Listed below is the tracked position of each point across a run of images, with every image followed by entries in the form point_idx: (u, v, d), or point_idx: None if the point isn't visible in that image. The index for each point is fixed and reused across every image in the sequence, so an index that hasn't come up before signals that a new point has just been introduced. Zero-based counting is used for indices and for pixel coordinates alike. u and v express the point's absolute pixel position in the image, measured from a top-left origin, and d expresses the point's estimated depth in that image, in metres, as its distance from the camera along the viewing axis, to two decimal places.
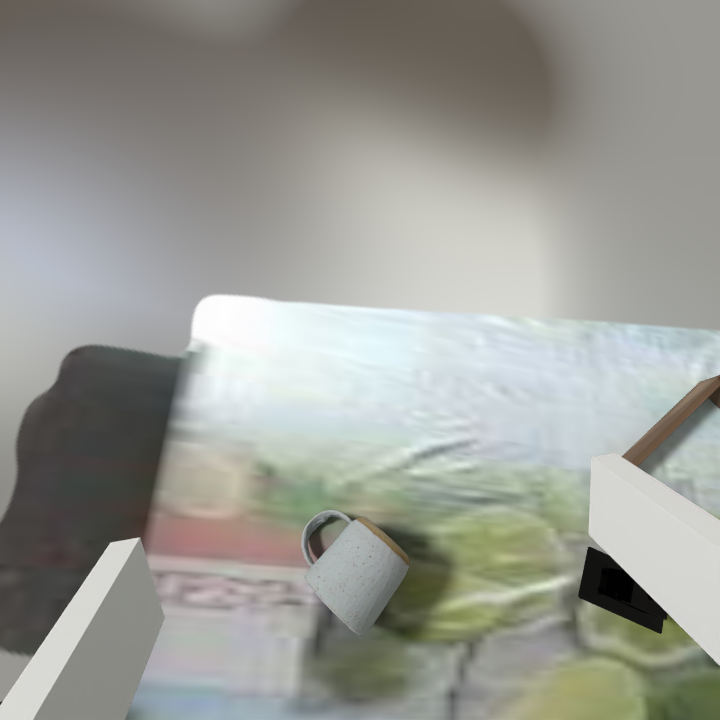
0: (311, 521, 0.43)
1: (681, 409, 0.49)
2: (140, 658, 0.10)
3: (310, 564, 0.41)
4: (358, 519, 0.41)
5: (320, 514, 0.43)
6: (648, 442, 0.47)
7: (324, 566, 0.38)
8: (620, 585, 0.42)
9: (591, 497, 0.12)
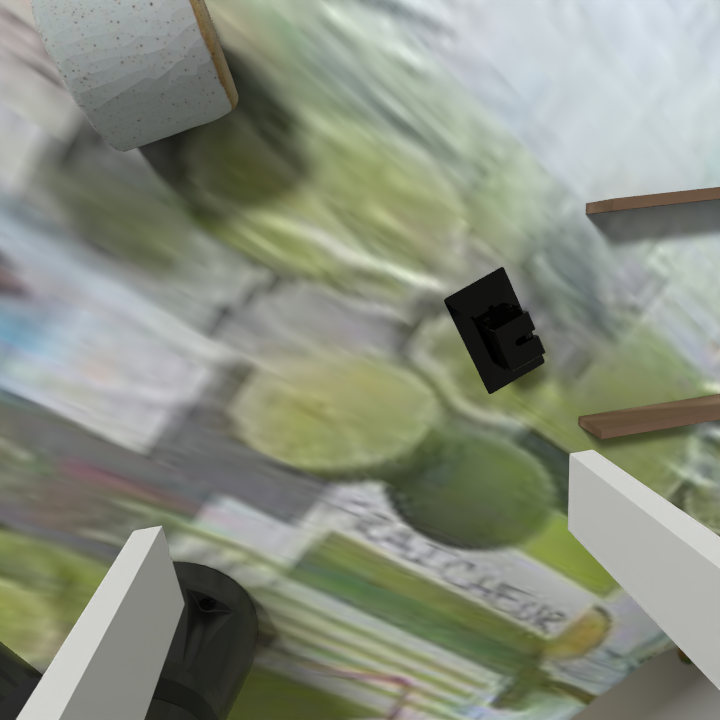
0: None
1: None
2: (164, 640, 0.10)
3: None
4: None
5: None
6: None
7: None
8: (499, 315, 0.31)
9: (570, 493, 0.13)
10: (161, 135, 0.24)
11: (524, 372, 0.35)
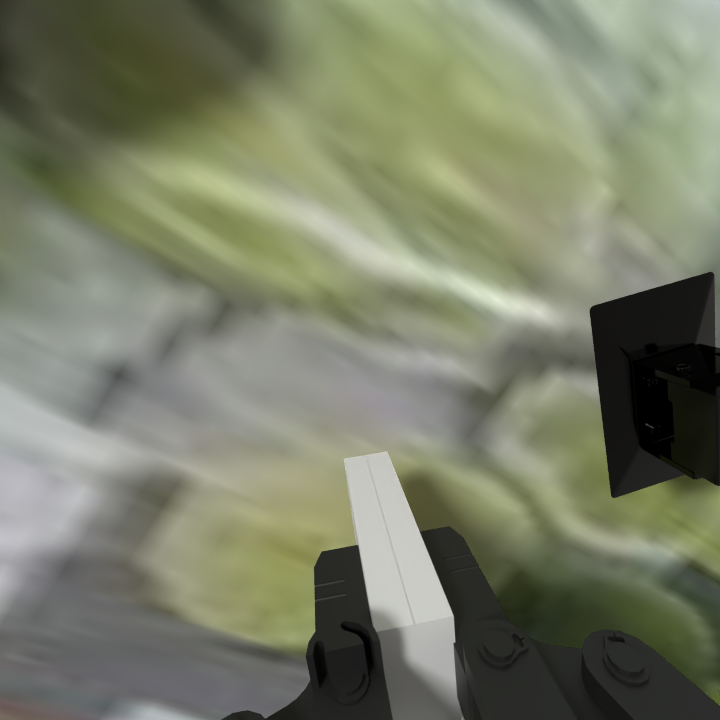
0: None
1: None
2: None
3: None
4: None
5: None
6: None
7: None
8: (710, 365, 0.15)
9: None
10: None
11: (679, 475, 0.19)
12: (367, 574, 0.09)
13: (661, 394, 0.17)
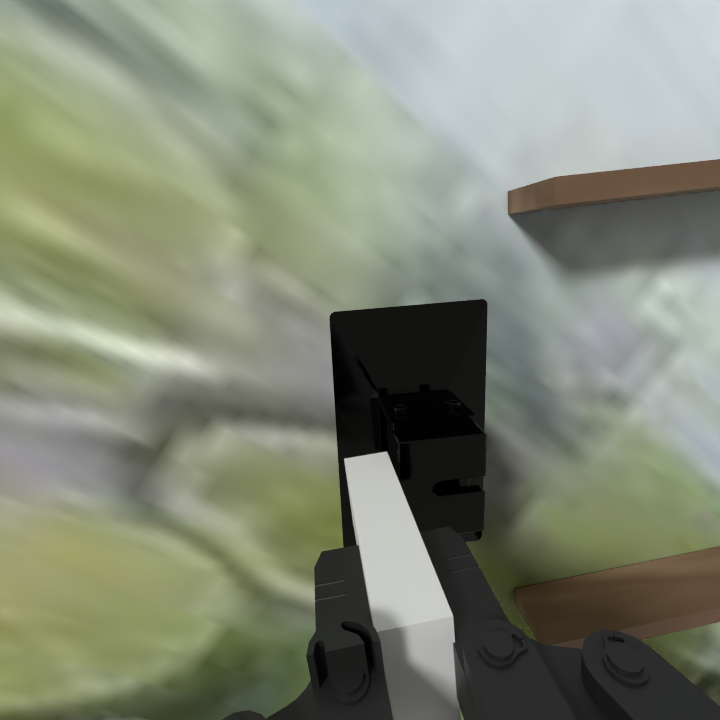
0: None
1: None
2: None
3: None
4: None
5: None
6: None
7: None
8: (427, 412, 0.14)
9: None
10: None
11: None
12: (367, 574, 0.09)
13: None
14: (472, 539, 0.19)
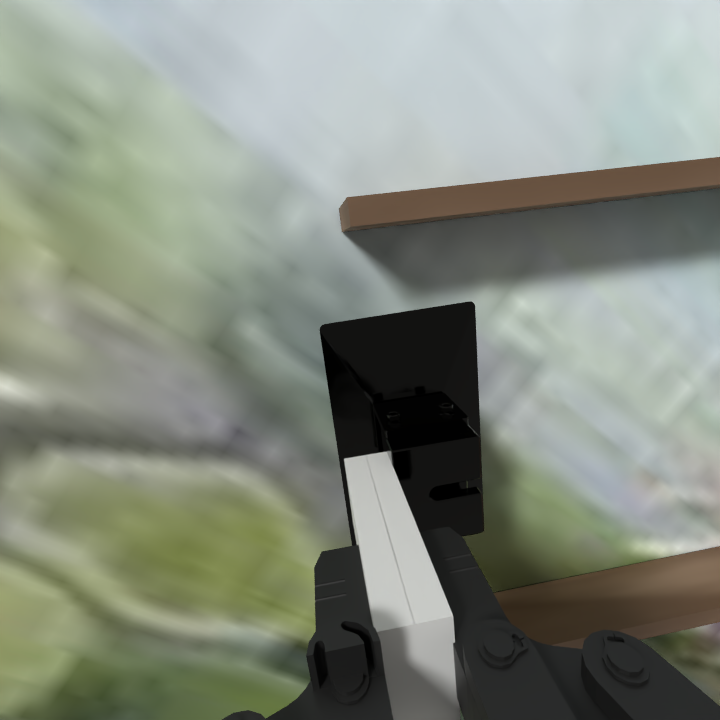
0: None
1: None
2: None
3: None
4: None
5: None
6: None
7: None
8: (420, 417, 0.14)
9: None
10: None
11: None
12: (367, 574, 0.09)
13: None
14: None
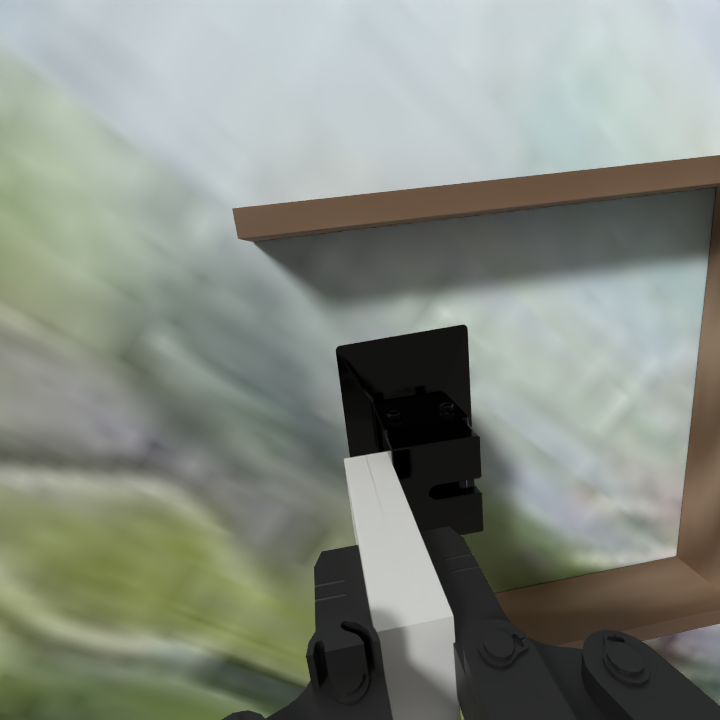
0: None
1: None
2: None
3: None
4: None
5: None
6: None
7: None
8: (420, 416, 0.14)
9: None
10: None
11: None
12: (367, 574, 0.09)
13: None
14: None
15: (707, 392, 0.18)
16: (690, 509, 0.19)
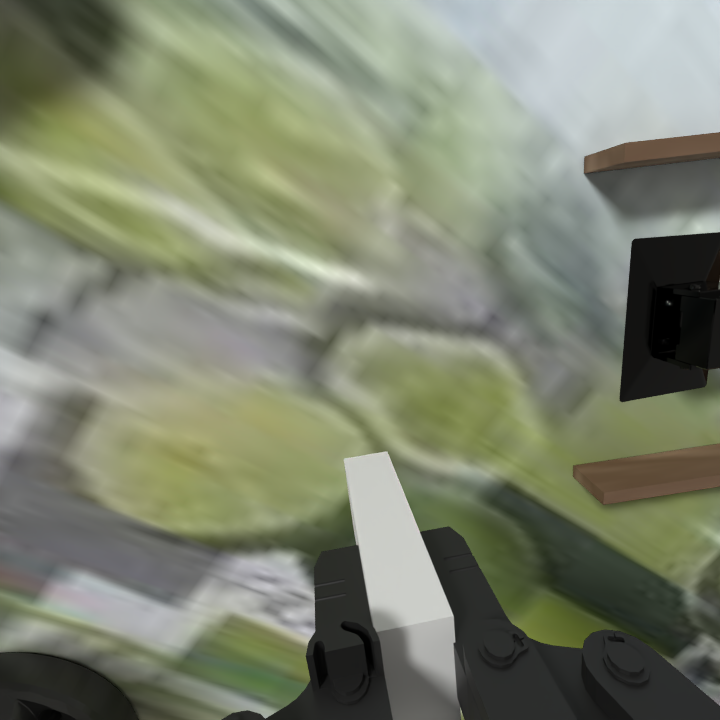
0: None
1: None
2: None
3: None
4: None
5: None
6: None
7: None
8: (714, 287, 0.21)
9: None
10: None
11: (676, 388, 0.25)
12: (367, 574, 0.09)
13: (674, 315, 0.23)
14: None
15: None
16: None
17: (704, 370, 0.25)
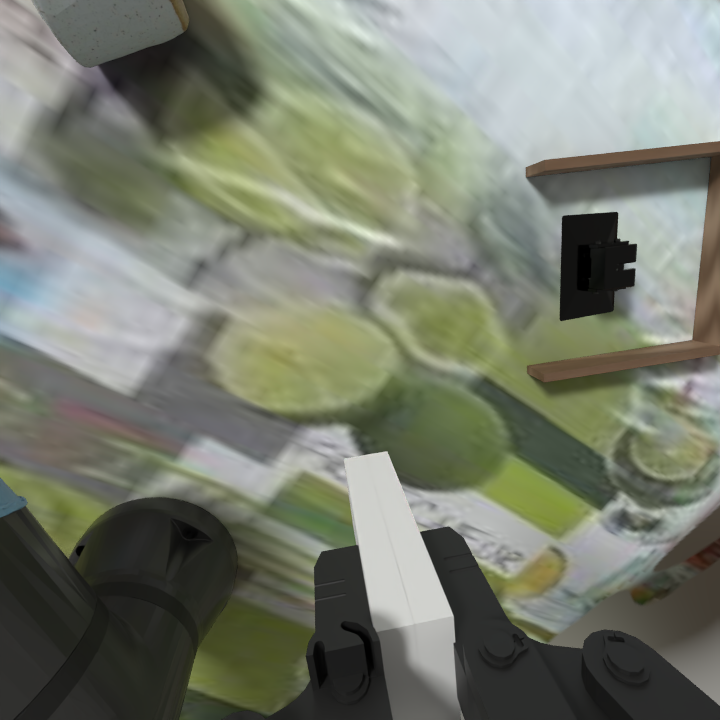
0: None
1: None
2: None
3: None
4: None
5: None
6: None
7: None
8: (608, 242, 0.36)
9: None
10: (118, 50, 0.27)
11: (595, 312, 0.40)
12: (367, 574, 0.09)
13: (589, 262, 0.38)
14: None
15: (707, 250, 0.39)
16: (699, 311, 0.41)
17: (611, 299, 0.40)
